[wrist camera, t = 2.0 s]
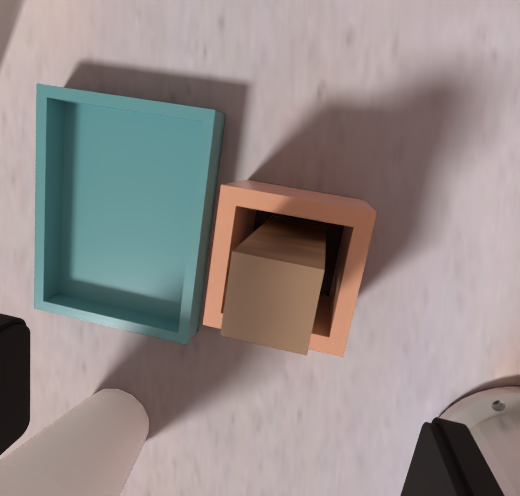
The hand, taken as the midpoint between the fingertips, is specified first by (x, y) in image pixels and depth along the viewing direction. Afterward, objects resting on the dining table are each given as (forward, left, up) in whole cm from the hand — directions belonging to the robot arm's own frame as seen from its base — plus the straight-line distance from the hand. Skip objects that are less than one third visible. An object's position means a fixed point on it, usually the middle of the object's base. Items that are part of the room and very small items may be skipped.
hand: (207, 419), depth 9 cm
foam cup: (+13, +19, -20) cm, 31 cm away
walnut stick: (0, 0, -20) cm, 20 cm away
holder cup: (0, 0, -20) cm, 20 cm away
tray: (+13, 0, -20) cm, 24 cm away
